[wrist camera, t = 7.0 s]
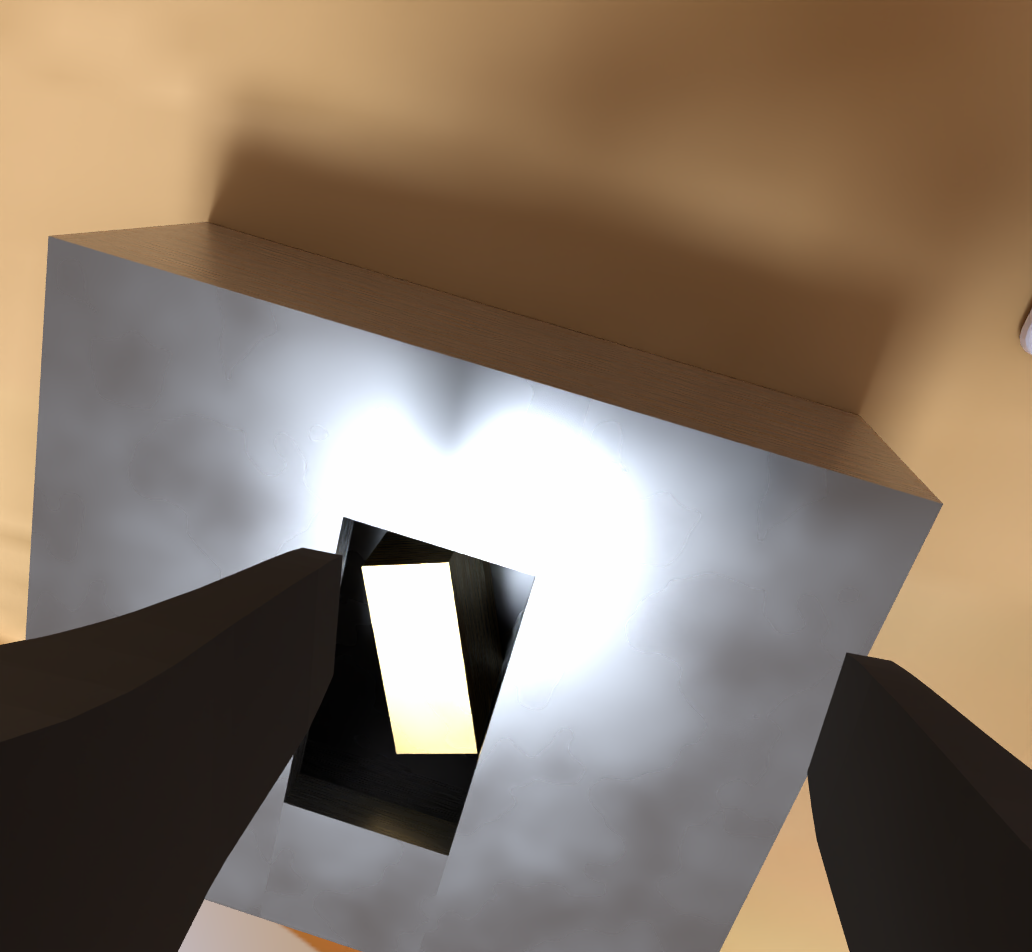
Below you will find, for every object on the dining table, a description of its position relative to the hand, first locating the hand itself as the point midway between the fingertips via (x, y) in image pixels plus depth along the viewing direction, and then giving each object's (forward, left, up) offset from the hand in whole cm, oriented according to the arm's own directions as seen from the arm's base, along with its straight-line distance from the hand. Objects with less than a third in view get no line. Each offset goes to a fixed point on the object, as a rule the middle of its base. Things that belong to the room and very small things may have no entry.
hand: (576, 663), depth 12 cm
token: (+3, +5, -10) cm, 11 cm away
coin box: (+3, +5, -10) cm, 12 cm away
